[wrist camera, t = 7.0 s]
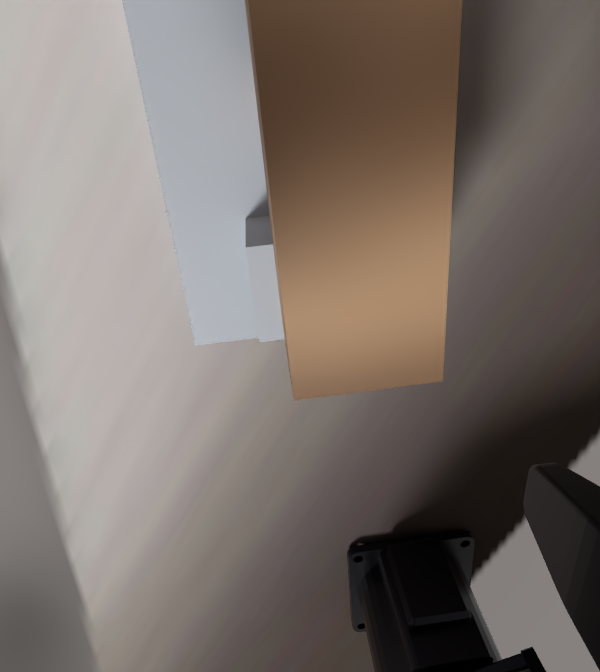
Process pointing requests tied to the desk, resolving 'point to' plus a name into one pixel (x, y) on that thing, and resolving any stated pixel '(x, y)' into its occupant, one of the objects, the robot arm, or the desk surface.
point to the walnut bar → (359, 183)
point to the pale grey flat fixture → (209, 162)
